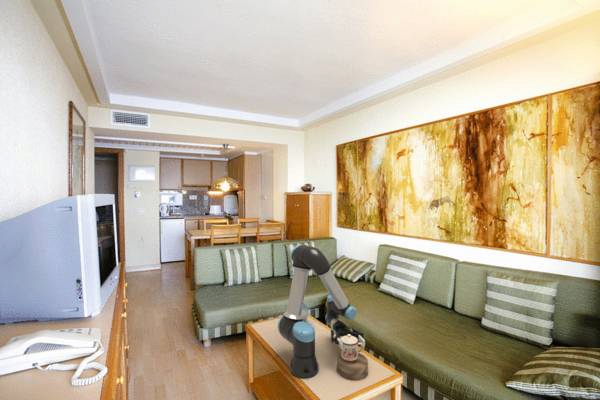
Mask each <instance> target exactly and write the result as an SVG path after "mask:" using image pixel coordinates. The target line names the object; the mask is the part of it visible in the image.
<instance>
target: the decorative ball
mask: <svg viewBox="0 0 600 400" xmlns="http://www.w3.org/2000/svg"><path fill="white" fill-rule="evenodd" d="M301 314H302V316H303V322H307V321H306V320H307V319H308V317H309V308H308V306H307V305H306V304H305V303H304V302H303V307H302V313H301Z"/></svg>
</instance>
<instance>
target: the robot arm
mask: <svg viewBox="0 0 600 400" xmlns="http://www.w3.org/2000/svg"><path fill="white" fill-rule="evenodd" d="M290 258H291V261H292V267H291V268H292V269H293V274H292V279H291V286H290V290H289V296H288V302H287V308H286V311H285V312H283V314H282V316H281V318H279V320H278V322H277V331H278V333H279V334H280V336H281V337H282V338H283V339H285V340H286V341H287V342H288V343H290V344H291V345H292V348H293V351H292V358H291V362H290V365H289V367H290V368H289V369H290V374H292V375H293V376H294V377H295V378H299V379H309V378H310V379H311V378H312V377H313V378H314V377H315V376H317V374H318V373H319V372H320V371H319V370H320V369H319V368H320V367H319V362H318V359H317V356H316V330H315V327H314V325H313V324H312V323H311V322H308V321H304V322H303V316H302V314H301V313H302V307H303V303H304V300H305V295H306V288H307V282H308V277H309V273H310V272H311V271H313V272H314V274H315V275H316V276H317V277H319V278H320V280H321V282H322V284H323V285H324V287H325V288H326V290H327V293H328V294H329V295H327V298H326V307H327V308H326V315H325V321H326V322H327V324H328V326H329V327H330V328H331V329H330V343H332V344H333V343H334V345H337V346H339V348H340V350H341V349H343V343H342V342H341V338H342V337H343V336H347V335H348V334H351V336H354V337H356V338H357V339H358V342H359V343H362V344H363V346H364V347H365V346H366V340H365V333H363V332H361V331H359V330H357V329H355V328H354V327H351V328H348V327H347V325H346V324H345V323H344V321H343V320H342V319H341V318H340V316H341V317H342V318H344V319H346V320H349V321H350V320H351V321H352V320H354V319H355V318H356V316H357V314H358V313H357V308H356V307H354V306H353V305H351V304H350V302H349V300H348V298H347V297H346V295H345V293H344V291H343V289H342V287H341V286H340V284H339V282H338V280H337V278H336V276H335V275H334V273H333V271H332V265H331V263H330V261H329V260H328V259H327V257H326V256H325V254H324V253H323V251H322V250H320V249H319V248H318V247H314V246H310V245H307V244H298V245H295V246H294V247H293V248H292V250H291V252H290ZM334 336H335V337H334Z"/></svg>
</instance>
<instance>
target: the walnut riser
mask: <svg viewBox="0 0 600 400" xmlns="http://www.w3.org/2000/svg"><path fill="white" fill-rule="evenodd" d="M336 372H337V373H338V375H339V376H340V377H341V378H343V379H345V380H349V381H360V380H364V379H365V378H367V376H368V374H369V361H368V358H367V357H366V356H365V355H364V354H362V353H361V352H359V353H358V358H357V359H356V360H354V361H347V360H344V359H343V358H342V357H341V353H339V355H338V356H337V358H336Z"/></svg>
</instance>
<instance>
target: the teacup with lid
mask: <svg viewBox="0 0 600 400" xmlns="http://www.w3.org/2000/svg"><path fill="white" fill-rule="evenodd" d="M340 341H341V342H342V343H343V349H341V348H340V354H341V357H342V358H343V359H344V360H347V361H354V360H356V359H357V358H358V353H362V352H364V351H363V350H364V347H365V346H363V344H362V343H361V342H359V339H357V338H356V337H354V336H351V334H348V335H347V336H341V337H340ZM358 345H360V346H361V349H359V348H358V347H359V346H358Z"/></svg>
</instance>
